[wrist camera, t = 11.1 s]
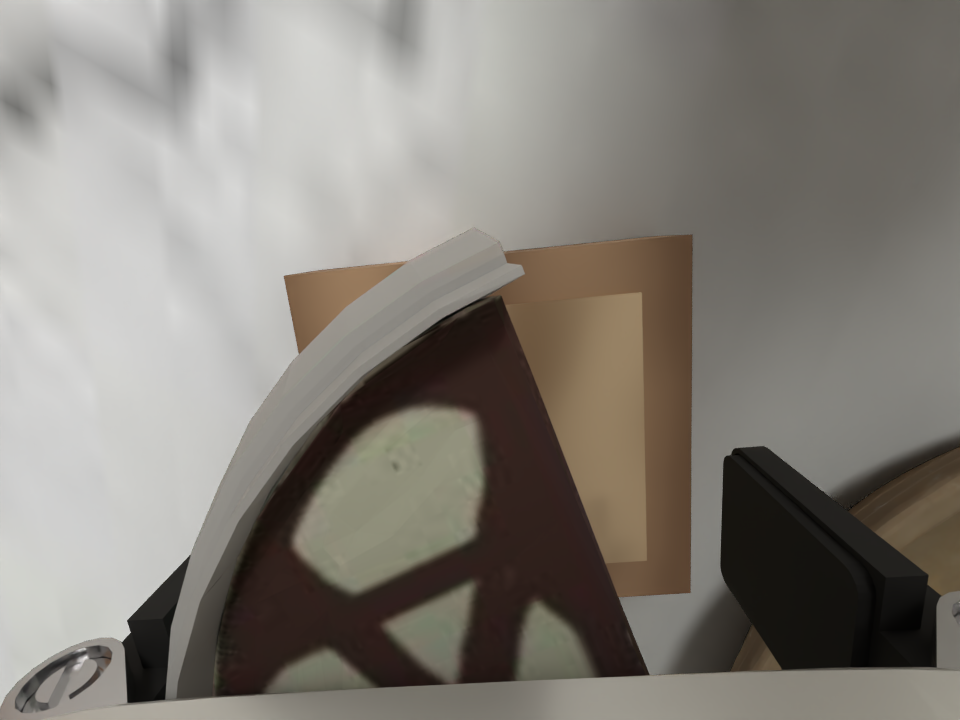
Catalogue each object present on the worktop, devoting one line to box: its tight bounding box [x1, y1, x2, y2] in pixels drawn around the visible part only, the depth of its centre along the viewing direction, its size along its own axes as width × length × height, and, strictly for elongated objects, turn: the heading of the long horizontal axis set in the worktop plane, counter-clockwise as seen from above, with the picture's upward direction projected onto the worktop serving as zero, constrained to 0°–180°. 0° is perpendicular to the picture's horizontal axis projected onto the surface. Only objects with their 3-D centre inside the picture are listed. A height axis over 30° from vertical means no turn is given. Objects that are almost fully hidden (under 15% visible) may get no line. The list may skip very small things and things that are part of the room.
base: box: [284, 235, 692, 597], centre depth 17 cm, size 12×12×3 cm
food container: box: [165, 227, 649, 700], centre depth 10 cm, size 12×6×10 cm, turn 22°
